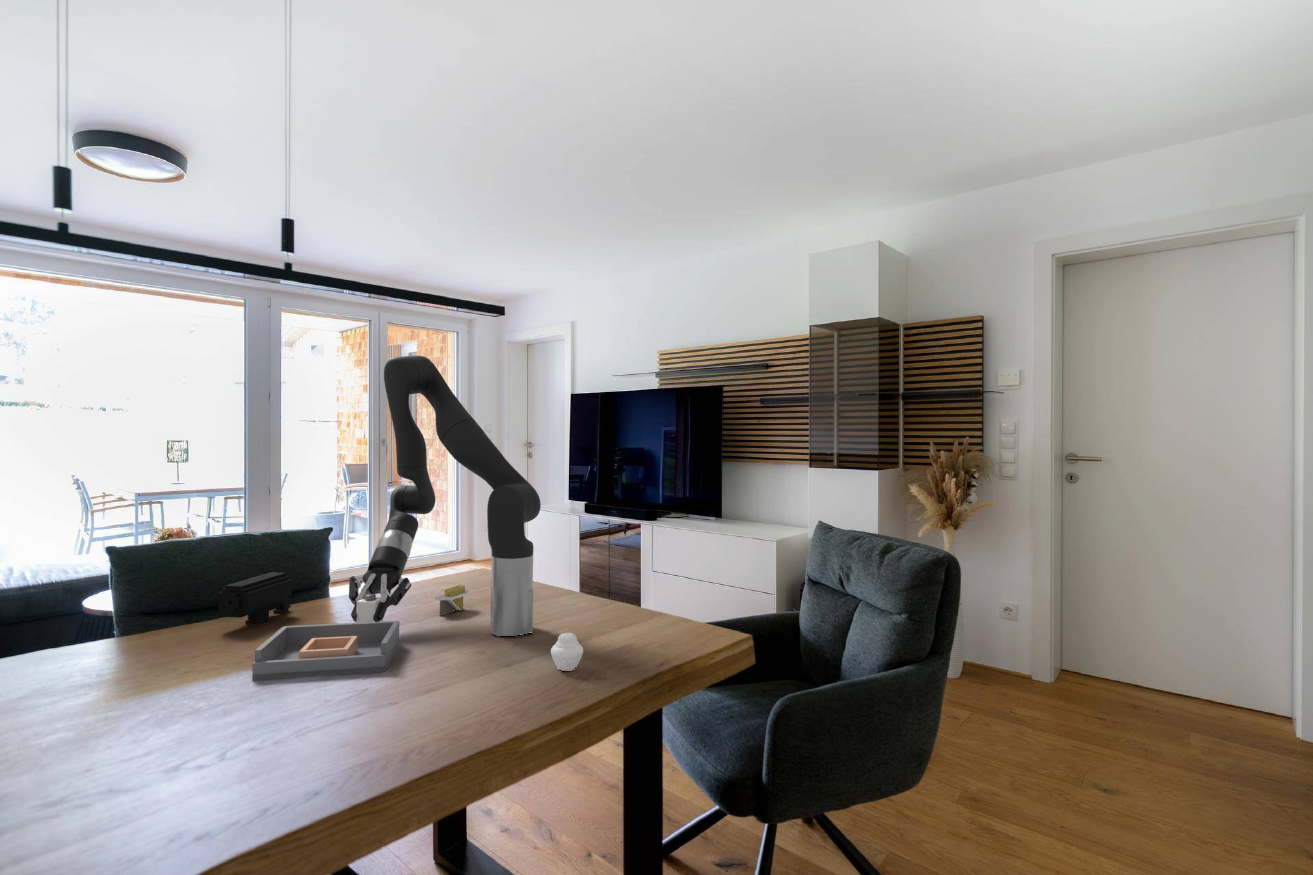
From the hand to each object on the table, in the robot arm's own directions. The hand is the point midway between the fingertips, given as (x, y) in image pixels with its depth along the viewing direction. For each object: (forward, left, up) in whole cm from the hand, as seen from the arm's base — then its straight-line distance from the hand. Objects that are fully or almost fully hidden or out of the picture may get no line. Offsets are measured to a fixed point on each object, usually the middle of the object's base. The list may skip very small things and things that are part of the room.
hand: (365, 620), depth 137 cm
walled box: (+3, +13, -4) cm, 14 cm away
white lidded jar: (-41, +26, -4) cm, 48 cm away
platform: (-17, -19, -5) cm, 26 cm away
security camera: (+27, -20, -4) cm, 33 cm away
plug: (-1, -2, -4) cm, 5 cm away
